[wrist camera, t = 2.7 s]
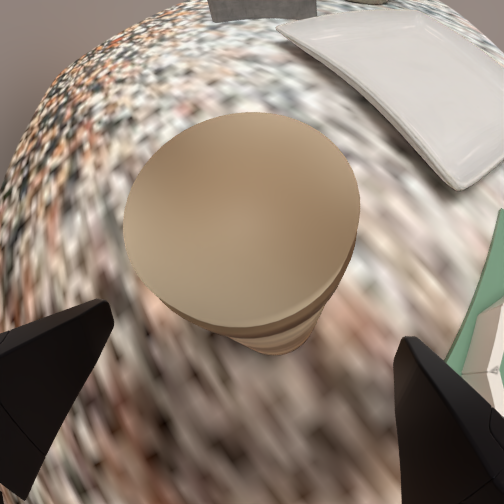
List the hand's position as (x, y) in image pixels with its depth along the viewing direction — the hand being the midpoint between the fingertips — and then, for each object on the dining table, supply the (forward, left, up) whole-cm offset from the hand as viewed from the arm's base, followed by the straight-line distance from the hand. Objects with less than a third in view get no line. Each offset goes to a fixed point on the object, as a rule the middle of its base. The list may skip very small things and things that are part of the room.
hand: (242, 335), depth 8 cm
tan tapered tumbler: (+2, +1, -10) cm, 10 cm away
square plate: (+33, -5, -10) cm, 35 cm away
